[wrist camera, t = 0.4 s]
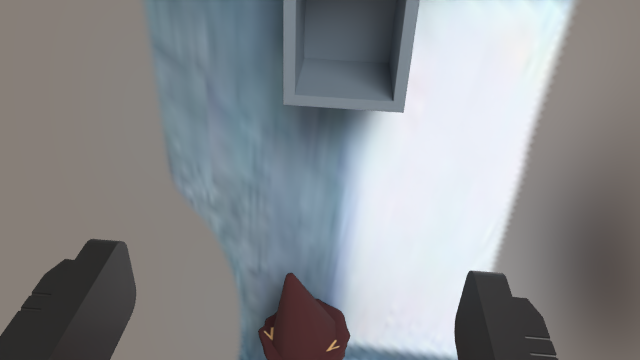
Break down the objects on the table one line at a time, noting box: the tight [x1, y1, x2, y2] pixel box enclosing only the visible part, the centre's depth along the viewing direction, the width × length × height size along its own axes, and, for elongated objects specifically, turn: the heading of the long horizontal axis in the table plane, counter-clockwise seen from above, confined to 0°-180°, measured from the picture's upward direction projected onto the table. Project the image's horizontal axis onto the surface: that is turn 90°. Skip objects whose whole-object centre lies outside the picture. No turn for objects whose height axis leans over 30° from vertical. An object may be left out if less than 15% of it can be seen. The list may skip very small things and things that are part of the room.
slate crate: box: [283, 0, 419, 113], centre depth 28 cm, size 8×6×6 cm
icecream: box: [258, 273, 350, 360], centre depth 42 cm, size 7×7×15 cm
